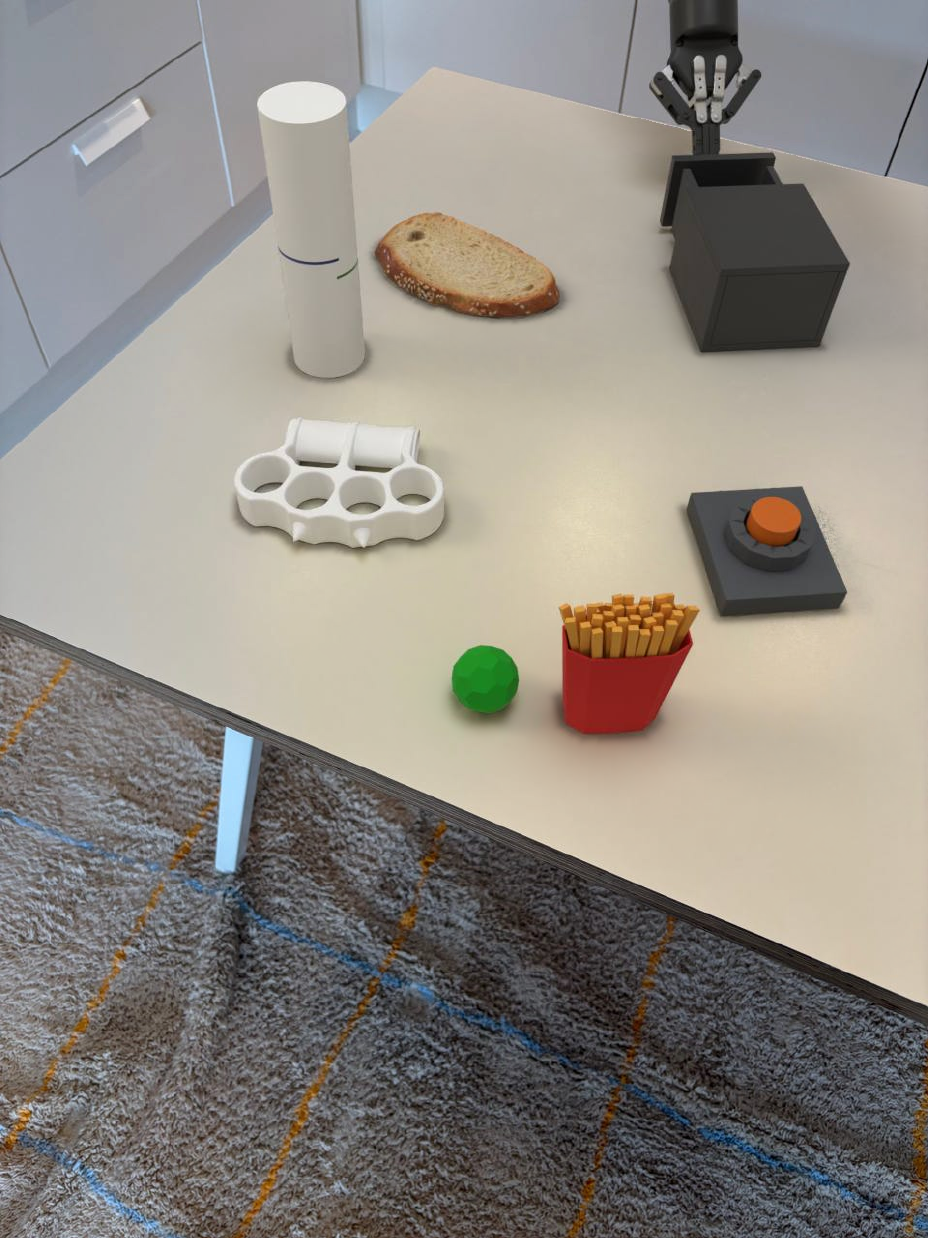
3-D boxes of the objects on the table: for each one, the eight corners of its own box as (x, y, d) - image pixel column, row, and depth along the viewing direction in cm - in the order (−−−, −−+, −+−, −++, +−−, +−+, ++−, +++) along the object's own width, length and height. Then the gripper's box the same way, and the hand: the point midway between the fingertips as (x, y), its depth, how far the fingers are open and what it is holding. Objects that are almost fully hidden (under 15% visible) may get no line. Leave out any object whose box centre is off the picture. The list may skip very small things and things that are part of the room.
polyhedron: (519, 722, 74) (524, 687, 70) (454, 726, 74) (455, 691, 70) (512, 667, 77) (516, 631, 74) (449, 671, 77) (450, 634, 73)
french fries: (659, 683, 77) (693, 575, 66) (670, 731, 74) (707, 626, 64) (541, 689, 76) (557, 581, 66) (548, 738, 74) (566, 633, 63)
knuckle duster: (454, 448, 92) (436, 568, 83) (262, 432, 93) (224, 549, 84) (454, 420, 90) (436, 541, 81) (257, 404, 90) (217, 522, 81)
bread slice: (567, 311, 105) (571, 280, 102) (401, 334, 102) (400, 303, 99) (520, 220, 116) (523, 189, 113) (368, 238, 113) (366, 208, 110)
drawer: (651, 201, 117) (663, 135, 111) (745, 198, 118) (762, 132, 112) (686, 290, 107) (702, 223, 100) (789, 285, 107) (811, 219, 101)
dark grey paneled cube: (668, 269, 110) (685, 187, 103) (778, 264, 111) (803, 182, 104) (700, 352, 102) (721, 268, 94) (819, 346, 103) (850, 263, 95)
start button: (740, 512, 83) (745, 497, 82) (787, 509, 83) (793, 494, 82) (753, 548, 81) (759, 533, 79) (801, 545, 81) (808, 530, 79)
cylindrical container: (284, 342, 101) (246, 89, 81) (351, 326, 103) (329, 75, 83) (306, 385, 97) (271, 130, 77) (375, 367, 99) (358, 113, 79)
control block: (685, 509, 88) (695, 477, 85) (795, 503, 89) (808, 470, 86) (720, 617, 81) (731, 585, 78) (839, 608, 82) (855, 577, 78)
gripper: (654, -16, 108) (659, 152, 110) (772, -19, 109) (775, 148, 111) (637, 16, 115) (641, 173, 118) (748, 14, 116) (750, 169, 119)
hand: (706, 160), depth 114 cm, fingers closed
